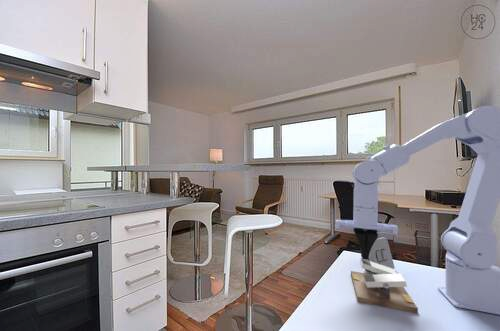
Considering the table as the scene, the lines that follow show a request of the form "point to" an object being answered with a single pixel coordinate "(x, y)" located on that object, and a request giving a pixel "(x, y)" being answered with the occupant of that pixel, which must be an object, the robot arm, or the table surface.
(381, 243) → the electrical switch
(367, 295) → the switch board
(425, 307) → the table surface
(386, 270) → the rear rocker
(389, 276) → the block
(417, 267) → the table surface
